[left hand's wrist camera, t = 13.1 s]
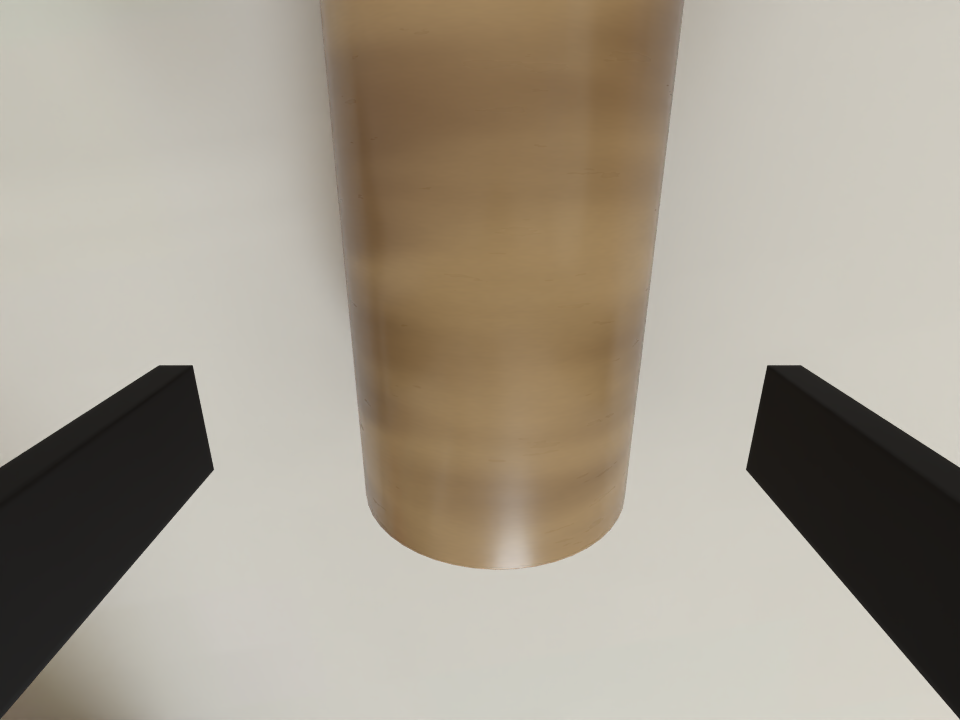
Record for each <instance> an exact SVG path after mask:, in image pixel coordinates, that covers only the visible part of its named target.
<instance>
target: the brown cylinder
mask: <svg viewBox="0 0 960 720" xmlns="http://www.w3.org/2000/svg"><path fill="white" fill-rule="evenodd" d="M683 6H684V0H320V8H321V19H322V29H323V40H324V51H325V61H326V72H327V82H328V93H329V104H330V114H331V125H332V136H333V146H334V157H335V167H336V178H337V189H338V199H339V210H340V220H341V231H342V242H343V252H344V263H345V274H346V284H347V295H348V305H349V316H350V327H351V337H352V348H353V359H354V369H355V380H356V390H357V401H358V412H359V422H360V433H361V444H362V454H363V465H364V475H365V486H366V496H367V501H368V505H369V507H370V510H371V512H372V514H373V516H374V518H375V519H376V520H377V522H378V523H379V525H380V526H381V527H382V528H383V529H384V530H385V531H386V532H387V533H388V534H389V535H390V536H391V537H392V538H394V539H395V540H397V541H398V542H399V543H401V544H402V545H404V546H406V547H407V548H409V549H411V550H413V551H415V552H417V553H419V554H421V555H424V556H427V557H429V558H432V559H434V560H438V561H441V562H445V563H449V564H453V565H458V566H464V567H470V568H479V569H494V570H497V569H519V568H527V567H534V566H539V565H544V564H548V563H552V562H556V561H559V560H562V559H564V558H567V557H570V556H573V555H575V554H577V553H579V552H581V551H583V550H585V549H587V548H588V547H590V546H591V545H593V544H594V543H596V542H597V541H598V540H600V539H601V538H602V537H603V536H604V535H605V534H606V533H607V532H608V531H609V530H610V529H611V528H612V526H613V525H614V524H615V522H616V521H617V519H618V518H619V515H620V513H621V511H622V508H623V503H624V498H625V490H626V481H627V473H628V465H629V456H630V448H631V440H632V431H633V423H634V415H635V406H636V398H637V390H638V381H639V373H640V365H641V356H642V348H643V340H644V331H645V323H646V315H647V306H648V298H649V290H650V281H651V273H652V264H653V256H654V248H655V239H656V231H657V223H658V214H659V206H660V198H661V189H662V181H663V173H664V164H665V156H666V148H667V139H668V131H669V123H670V114H671V106H672V98H673V89H674V81H675V72H676V64H677V56H678V47H679V39H680V31H681V22H682V14H683Z"/></svg>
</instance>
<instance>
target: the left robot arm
mask: <svg viewBox="0 0 960 720" xmlns="http://www.w3.org/2000/svg"><path fill="white" fill-rule="evenodd" d="M213 470H214V468H213V463H212V458H211V453H210V448H209V443H208V438H207V433H206V429H205V424H204V419H203V414H202V409H201V404H200V399H199V394H198V389H197V385H196V380H195V375H194V370H193V365H159V366H157V367H156V368H154V369H153V370H151V371H150V372H148V373H147V374H145V375H143V376H142V377H140V378H139V379H137V380H136V381H134V382H133V383H131V384H129V385H128V386H126V387H125V388H123V389H122V390H120V391H119V392H117V393H115V394H114V395H112V396H111V397H109V398H108V399H106V400H105V401H103V402H101V403H100V404H98V405H97V406H95V407H94V408H92V409H91V410H89V411H87V412H86V413H84V414H83V415H81V416H80V417H78V418H77V419H75V420H73V421H72V422H70V423H69V424H67V425H66V426H64V427H63V428H61V429H59V430H58V431H56V432H55V433H53V434H52V435H50V436H49V437H47V438H46V439H44V440H42V441H41V442H39V443H38V444H36V445H35V446H33V447H32V448H30V449H28V450H27V451H25V452H24V453H22V454H21V455H19V456H18V457H16V458H14V459H13V460H11V461H10V462H8V463H7V464H5V465H4V466H2V467H0V719H1V718H2V716H3V715H4V714H5V713H6V712H7V711H8V709H9V708H10V707H11V706H12V705H13V704H14V702H15V701H16V700H17V699H18V698H19V697H20V695H21V694H22V693H23V692H24V691H25V690H26V688H27V687H28V686H29V685H30V684H31V683H32V681H33V680H34V679H35V678H36V677H37V676H38V674H39V673H40V672H41V671H42V670H43V669H44V667H45V666H46V665H47V664H48V663H49V662H50V660H51V659H52V658H53V657H54V656H55V655H56V653H57V652H58V651H59V650H60V649H61V648H62V646H63V645H64V644H65V643H66V642H67V641H68V639H69V638H70V637H71V636H72V635H73V634H74V632H75V631H76V630H77V629H78V628H79V627H80V625H81V624H82V623H83V622H84V621H85V620H86V618H87V617H88V616H89V615H90V614H91V613H92V611H93V610H94V609H95V608H96V607H97V606H98V604H99V603H100V602H101V601H102V600H103V599H104V597H105V596H106V595H107V594H108V593H109V592H110V590H111V589H112V588H113V587H114V586H115V585H116V583H117V582H118V581H119V580H120V579H121V578H122V576H123V575H124V574H125V573H126V572H127V571H128V569H129V568H130V567H131V566H132V565H133V564H134V562H135V561H136V560H137V559H138V558H139V557H140V555H141V554H142V553H143V552H144V551H145V550H146V548H147V547H148V546H149V545H150V544H151V542H152V541H153V540H154V539H155V538H156V537H157V535H158V534H159V533H160V532H161V531H162V530H163V528H164V527H165V526H166V525H167V524H168V523H169V521H170V520H171V519H172V518H173V517H174V516H175V514H176V513H177V512H178V511H179V510H180V509H181V507H182V506H183V505H184V504H185V503H186V502H187V500H188V499H189V498H190V497H191V496H192V495H193V493H194V492H195V491H196V490H197V489H198V488H199V486H200V485H201V484H202V483H203V482H204V481H205V479H206V478H207V477H208V476H209V475H210V474H211V472H212V471H213ZM746 470H747V471H748V472H749V474H750V475H751V476H752V477H753V478H754V479H755V481H756V482H757V483H758V484H759V485H760V486H761V488H762V489H763V490H764V491H765V492H766V493H767V495H768V496H769V497H770V498H771V499H772V500H773V502H774V503H775V504H776V505H777V506H778V507H779V509H780V510H781V511H782V512H783V513H784V514H785V516H786V517H787V518H788V519H789V520H790V521H791V523H792V524H793V525H794V526H795V527H796V528H797V530H798V531H799V532H800V533H801V534H802V535H803V537H804V538H805V539H806V540H807V541H808V543H809V544H810V545H811V546H812V547H813V548H814V550H815V551H816V552H817V553H818V554H819V555H820V557H821V558H822V559H823V560H824V561H825V562H826V564H827V565H828V566H829V567H830V568H831V569H832V571H833V572H834V573H835V574H836V575H837V576H838V578H839V579H840V580H841V581H842V582H843V583H844V585H845V586H846V587H847V588H848V589H849V590H850V592H851V593H852V594H853V595H854V596H855V597H856V599H857V600H858V601H859V602H860V603H861V604H862V606H863V607H864V608H865V609H866V610H867V611H868V613H869V614H870V615H871V616H872V617H873V618H874V620H875V621H876V622H877V623H878V624H879V625H880V627H881V628H882V629H883V630H884V631H885V632H886V634H887V635H888V636H889V637H890V638H891V639H892V641H893V642H894V643H895V644H896V645H897V646H898V648H899V649H900V650H901V651H902V652H903V653H904V655H905V656H906V657H907V658H908V659H909V660H910V662H911V663H912V664H913V665H914V666H915V667H916V669H917V670H918V671H919V672H920V673H921V674H922V676H923V677H924V678H925V679H926V680H927V681H928V683H929V684H930V685H931V686H932V687H933V688H934V690H935V691H936V692H937V693H938V694H939V695H940V697H941V698H942V699H943V700H944V701H945V702H946V704H947V705H948V706H949V707H950V708H951V709H952V711H953V712H954V713H955V714H956V715H957V716H958V718H959V719H960V467H958V466H956V465H955V464H953V463H952V462H950V461H949V460H947V459H946V458H944V457H942V456H941V455H939V454H938V453H936V452H935V451H933V450H932V449H930V448H928V447H927V446H925V445H924V444H922V443H921V442H919V441H918V440H916V439H914V438H913V437H911V436H910V435H908V434H907V433H905V432H904V431H902V430H901V429H899V428H897V427H896V426H894V425H893V424H891V423H890V422H888V421H887V420H885V419H883V418H882V417H880V416H879V415H877V414H876V413H874V412H873V411H871V410H869V409H868V408H866V407H865V406H863V405H862V404H860V403H859V402H857V401H855V400H854V399H852V398H851V397H849V396H848V395H846V394H845V393H843V392H841V391H840V390H838V389H837V388H835V387H834V386H832V385H831V384H829V383H827V382H826V381H824V380H823V379H821V378H820V377H818V376H817V375H815V374H813V373H812V372H810V371H809V370H807V369H806V368H804V367H803V366H801V365H767V370H766V375H765V380H764V384H763V389H762V394H761V399H760V404H759V409H758V414H757V419H756V424H755V429H754V433H753V438H752V443H751V448H750V453H749V458H748V463H747V468H746Z"/></svg>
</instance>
